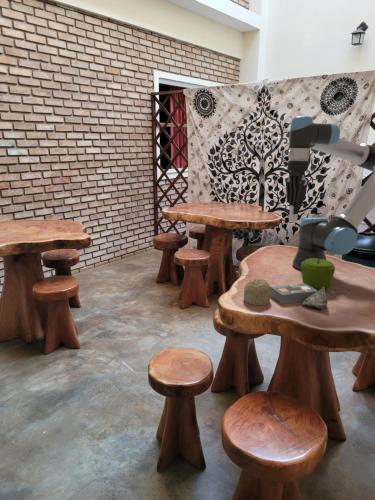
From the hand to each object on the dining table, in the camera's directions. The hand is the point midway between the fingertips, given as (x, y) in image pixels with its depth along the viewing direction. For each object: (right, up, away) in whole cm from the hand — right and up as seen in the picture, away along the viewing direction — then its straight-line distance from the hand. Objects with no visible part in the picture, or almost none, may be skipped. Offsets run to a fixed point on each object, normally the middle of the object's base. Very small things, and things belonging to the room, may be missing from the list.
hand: (292, 222), depth 142 cm
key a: (+1, -27, -11) cm, 29 cm away
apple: (+9, -26, 0) cm, 27 cm away
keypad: (-3, -28, -12) cm, 31 cm away
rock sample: (+2, -31, -19) cm, 36 cm away
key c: (-7, -27, -13) cm, 31 cm away
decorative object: (-17, -29, -15) cm, 37 cm away
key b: (-3, -26, -12) cm, 29 cm away
